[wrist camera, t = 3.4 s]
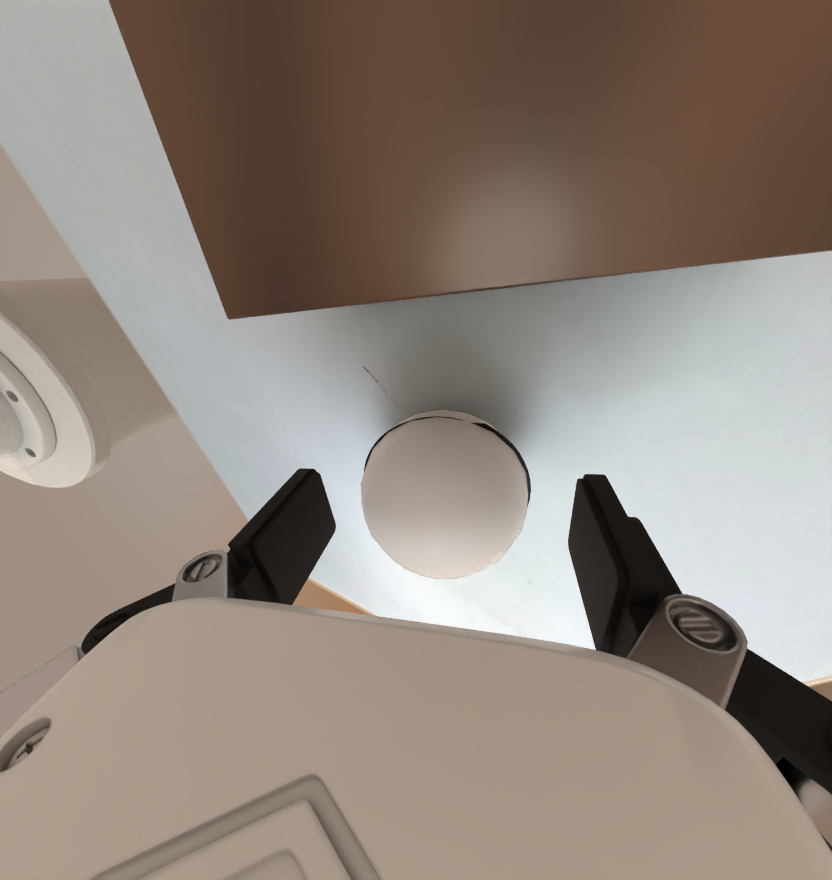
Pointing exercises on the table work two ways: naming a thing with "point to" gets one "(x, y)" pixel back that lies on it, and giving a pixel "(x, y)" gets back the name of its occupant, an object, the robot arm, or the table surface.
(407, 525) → the cream oval egg shape
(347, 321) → the table surface
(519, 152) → the shelf
